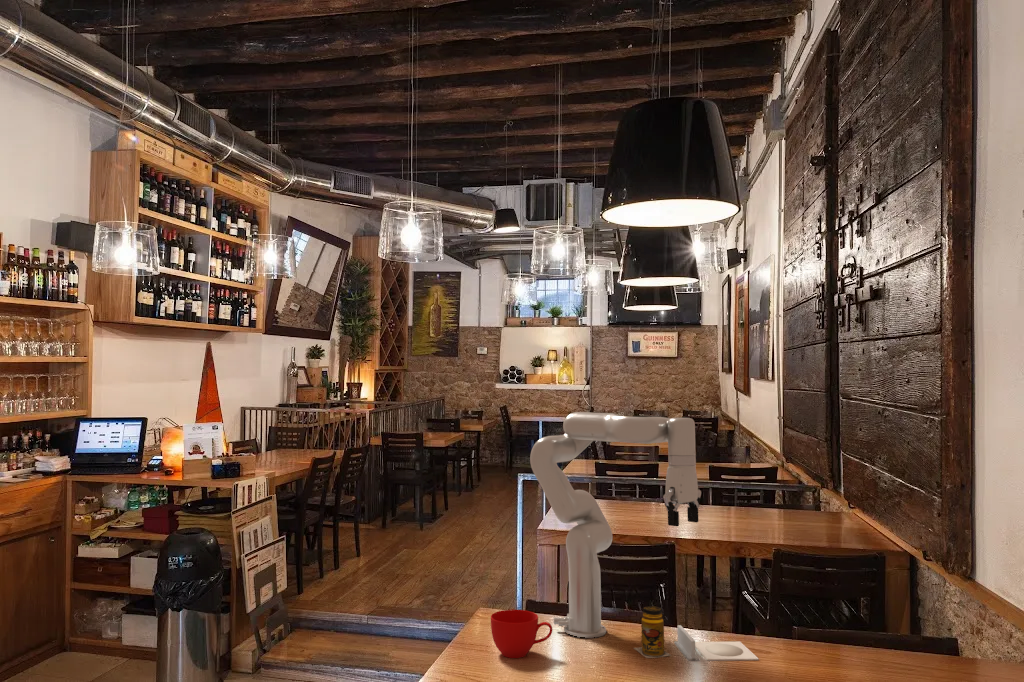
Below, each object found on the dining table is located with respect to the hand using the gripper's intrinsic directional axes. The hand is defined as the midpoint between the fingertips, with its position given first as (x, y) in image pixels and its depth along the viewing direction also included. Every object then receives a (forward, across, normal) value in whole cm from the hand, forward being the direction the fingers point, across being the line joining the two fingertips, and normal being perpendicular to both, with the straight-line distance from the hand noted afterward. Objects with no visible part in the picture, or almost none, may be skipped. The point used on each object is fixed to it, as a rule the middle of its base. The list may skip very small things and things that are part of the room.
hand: (683, 523), depth 198 cm
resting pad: (+35, -8, +7) cm, 36 cm away
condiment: (+35, +7, -7) cm, 36 cm away
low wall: (+35, -1, 0) cm, 35 cm away
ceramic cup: (+35, +34, -30) cm, 57 cm away
